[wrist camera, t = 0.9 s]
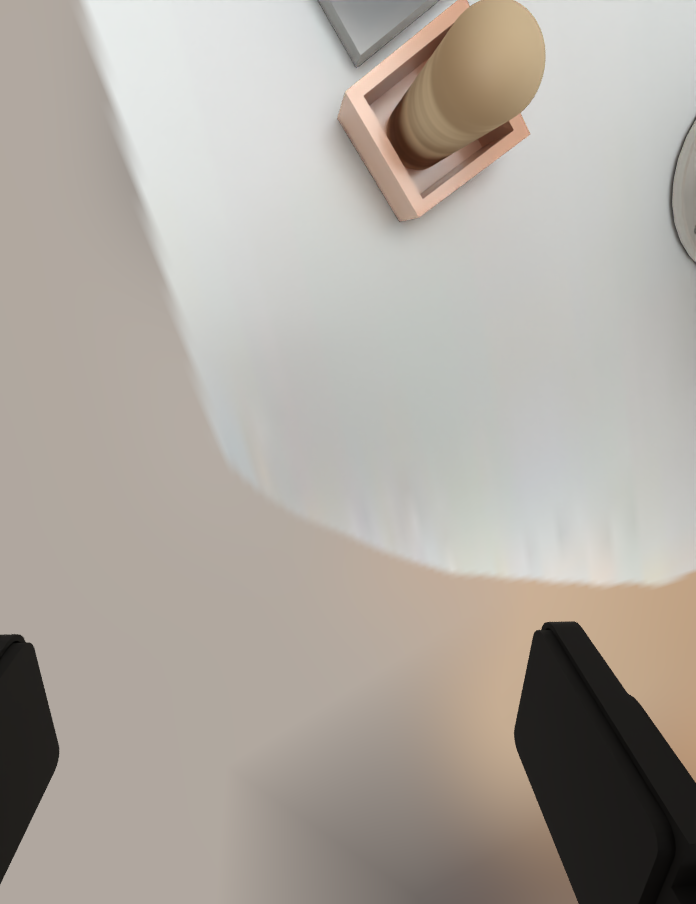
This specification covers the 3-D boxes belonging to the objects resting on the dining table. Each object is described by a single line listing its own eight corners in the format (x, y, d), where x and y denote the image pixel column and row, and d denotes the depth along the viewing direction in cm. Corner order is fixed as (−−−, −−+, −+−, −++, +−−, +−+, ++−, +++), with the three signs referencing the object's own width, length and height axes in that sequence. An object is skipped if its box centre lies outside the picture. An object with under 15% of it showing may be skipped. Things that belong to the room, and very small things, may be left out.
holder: (434, 40, 28) (464, -6, 23) (491, 152, 30) (530, 134, 25) (337, 118, 29) (345, 91, 24) (399, 221, 31) (419, 217, 26)
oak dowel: (429, 78, 28) (514, -30, 17) (462, 142, 29) (562, 80, 18) (373, 122, 28) (421, 45, 17) (409, 183, 30) (474, 148, 19)
